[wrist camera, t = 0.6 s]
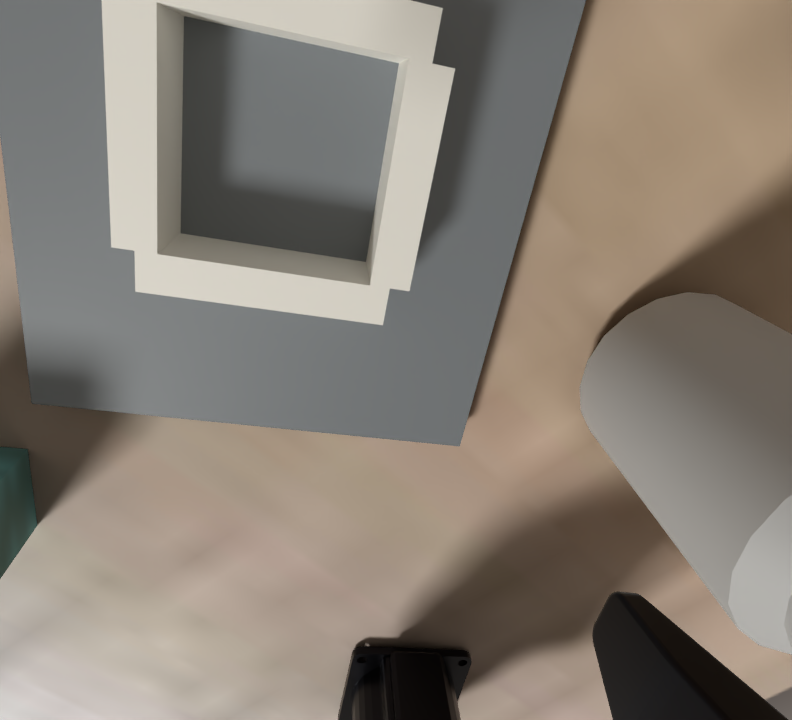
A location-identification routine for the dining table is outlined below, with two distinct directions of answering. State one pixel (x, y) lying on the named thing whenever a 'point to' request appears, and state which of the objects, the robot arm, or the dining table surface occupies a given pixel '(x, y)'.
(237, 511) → the dining table surface
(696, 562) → the can
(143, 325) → the holder
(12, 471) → the peg
